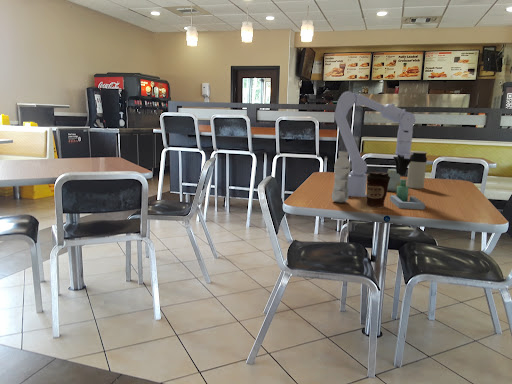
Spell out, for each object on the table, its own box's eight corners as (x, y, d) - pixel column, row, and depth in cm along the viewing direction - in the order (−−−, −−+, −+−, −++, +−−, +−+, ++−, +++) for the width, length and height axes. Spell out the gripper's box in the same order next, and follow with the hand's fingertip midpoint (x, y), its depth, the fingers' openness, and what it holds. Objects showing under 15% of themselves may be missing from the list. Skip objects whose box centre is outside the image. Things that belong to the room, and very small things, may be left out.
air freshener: (393, 188, 193) (395, 168, 191) (407, 191, 186) (409, 170, 185) (377, 190, 188) (379, 169, 186) (391, 193, 181) (393, 171, 179)
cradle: (398, 208, 149) (399, 202, 149) (390, 200, 163) (390, 195, 162) (424, 210, 148) (425, 203, 148) (413, 202, 162) (414, 196, 162)
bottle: (397, 201, 161) (399, 178, 160) (394, 200, 165) (396, 178, 164) (409, 201, 160) (410, 179, 160) (405, 200, 165) (407, 179, 164)
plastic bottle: (348, 201, 158) (353, 151, 155) (346, 204, 152) (351, 152, 148) (332, 199, 161) (336, 150, 157) (330, 203, 154) (334, 151, 150)
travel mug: (426, 189, 195) (430, 152, 191) (409, 188, 195) (413, 152, 191) (419, 186, 202) (423, 151, 199) (404, 185, 202) (407, 150, 199)
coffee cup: (383, 210, 146) (387, 175, 143) (361, 206, 150) (364, 172, 148) (389, 206, 153) (393, 172, 151) (368, 202, 157) (371, 170, 155)
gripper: (419, 143, 157) (415, 177, 159) (409, 141, 171) (405, 172, 173) (401, 142, 157) (397, 176, 160) (392, 140, 172) (389, 171, 174)
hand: (400, 174), depth 167 cm, fingers open, 4 cm apart
